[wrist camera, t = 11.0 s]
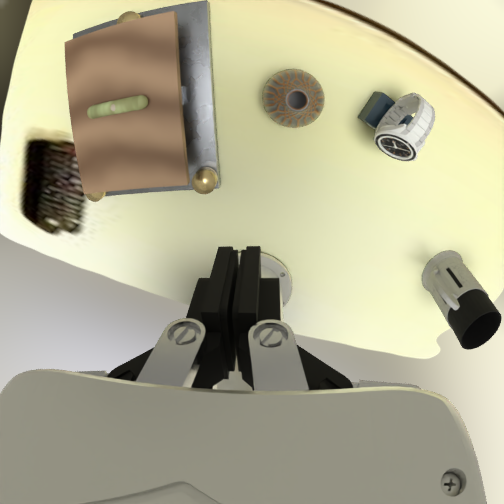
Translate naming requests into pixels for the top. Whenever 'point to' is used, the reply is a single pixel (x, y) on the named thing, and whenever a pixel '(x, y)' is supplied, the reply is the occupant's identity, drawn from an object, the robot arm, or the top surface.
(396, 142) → the watch
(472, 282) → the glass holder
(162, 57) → the plate
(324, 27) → the top surface
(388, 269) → the top surface
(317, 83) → the vase
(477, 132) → the top surface
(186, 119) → the base
